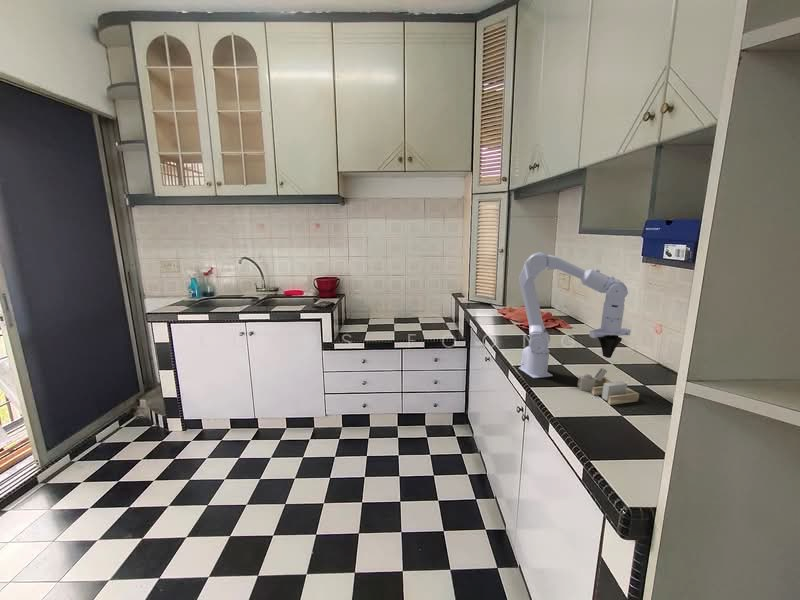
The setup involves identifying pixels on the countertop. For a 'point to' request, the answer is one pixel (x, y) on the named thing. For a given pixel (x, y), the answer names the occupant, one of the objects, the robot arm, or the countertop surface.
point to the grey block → (613, 389)
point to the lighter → (591, 380)
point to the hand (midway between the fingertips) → (606, 356)
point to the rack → (616, 399)
